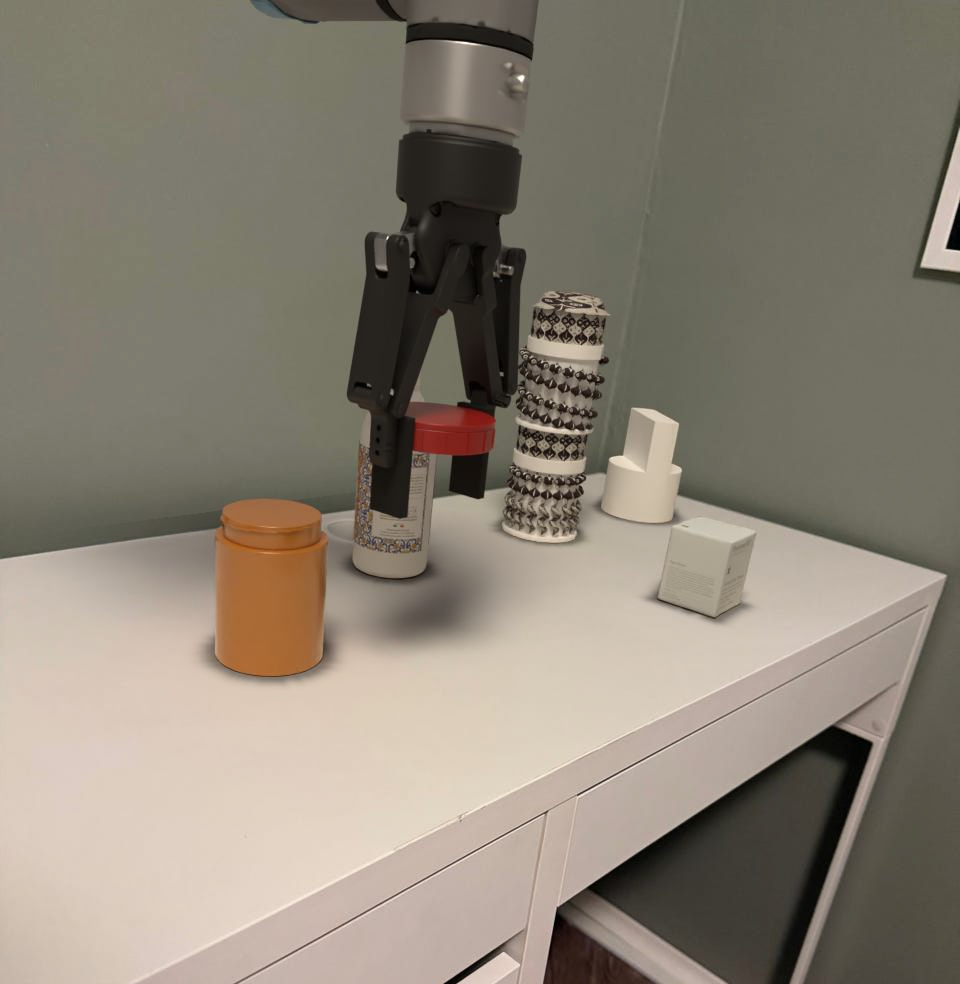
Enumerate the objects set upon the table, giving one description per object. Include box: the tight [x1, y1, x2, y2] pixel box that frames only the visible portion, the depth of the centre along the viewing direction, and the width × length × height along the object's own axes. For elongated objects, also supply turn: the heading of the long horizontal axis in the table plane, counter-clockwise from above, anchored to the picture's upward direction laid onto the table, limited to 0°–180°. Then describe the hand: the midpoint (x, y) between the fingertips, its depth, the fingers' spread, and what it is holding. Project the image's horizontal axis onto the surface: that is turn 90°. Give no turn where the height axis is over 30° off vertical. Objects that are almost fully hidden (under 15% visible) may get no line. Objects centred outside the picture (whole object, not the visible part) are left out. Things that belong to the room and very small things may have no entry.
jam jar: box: [214, 498, 329, 677], centre depth 65 cm, size 8×8×11 cm
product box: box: [657, 516, 757, 618], centre depth 86 cm, size 6×6×7 cm
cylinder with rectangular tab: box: [600, 407, 683, 524], centre depth 113 cm, size 9×9×12 cm
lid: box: [404, 401, 497, 456], centre depth 63 cm, size 8×8×2 cm
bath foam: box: [352, 370, 438, 579], centre depth 82 cm, size 7×7×20 cm
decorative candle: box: [501, 290, 611, 544], centre depth 98 cm, size 9×9×25 cm
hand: (429, 502), depth 65 cm, fingers closed on lid, 8 cm apart
